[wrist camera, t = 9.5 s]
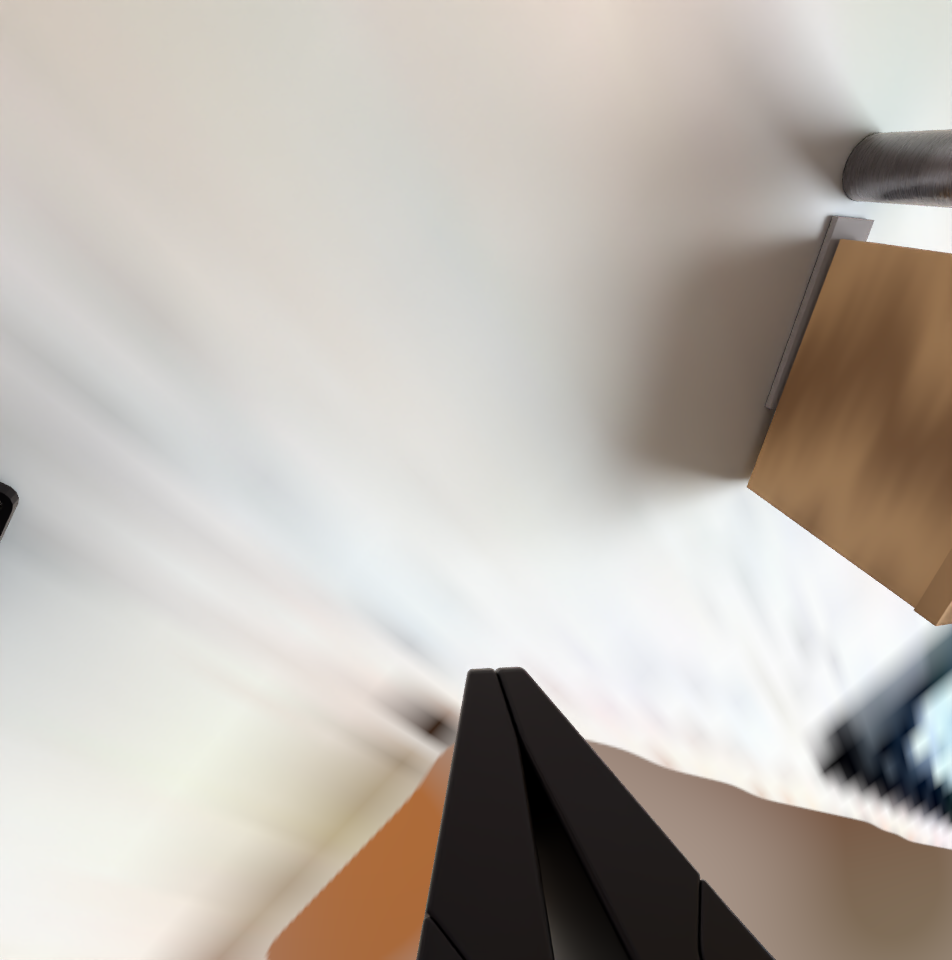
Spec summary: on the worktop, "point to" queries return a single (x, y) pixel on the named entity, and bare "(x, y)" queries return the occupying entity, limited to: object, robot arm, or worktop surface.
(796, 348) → the threshold
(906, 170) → the hinge post
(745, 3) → the worktop surface
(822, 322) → the light wooden flat block
